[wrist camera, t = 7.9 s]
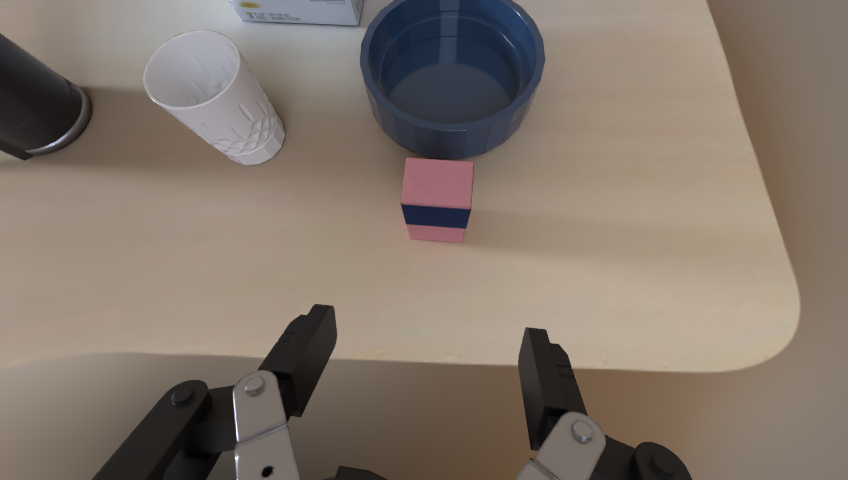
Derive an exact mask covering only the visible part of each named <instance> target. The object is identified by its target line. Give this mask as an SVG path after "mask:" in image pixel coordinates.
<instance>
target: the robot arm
mask: <svg viewBox="0 0 848 480" xmlns="http://www.w3.org/2000/svg"><path fill="white" fill-rule="evenodd" d="M90 111H91V104H90V100H89V97H88V96H87V94H86V93H85V92H84V91H83V90H82V89H80V88H79V87H78V86H76V85H75V84H73V83H72V82H70V81H68V80H67V79H65V78H64V77H63V76H61V75H60V74H58V73H56V72H55V71H53V70H52V69H51V68H49V67H48V66H46V65H45V64H44V63H42V62H41V61H39V60H38V59H36V58H35V57H34V56H32V55H31V54H29V53H28V52H26V51H25V50H24V49H22V48H21V47H19V46H18V45H17V44H15V43H14V42H12V41H11V40H9V39H8V38H7V37H5V36H4V35H2V34H1V33H0V150H1V151H3V152H5V153H7V154H10V155H12V156H14V157H17V158H19V159H21V160H24V161H25V160H27V159H28V158H30V157H32V156H34V155H42V154H47V153H51V152H54V151H56V150H58V149H60V148H62V147H64V146H66V145H67V144H69V143H70V142H71V141H72V140H74V139H75V138H76V137H77V136H78V135H79V134H80V132H81V131H82V130H83V129H84V127H85V125H86V124H87V122H88V119H89V116H90ZM336 339H337V328H336V319H335V310H334V307H333V306H329V305H321V304H315V305H314V306H313V307H312V309H311V310H310V312H309V313H308V315H300V316H299V317H297V318H296V319H294V320H293V321H292V322H290V324H289V325H288V327H287V328H286V330H285V331H284V334H282V335H281V337H280V338H279V341H278V342H277V343H276V344H275V345H274V347H273V348H272V350H271V351H270V353H269V354H268V355H267V357H266V358H265V360H264V361H263V363H262V364H261V366H260V367H259V368H258V370H257V371H255V372H252V373H249V374H248V375H246V376H244V377H243V378H242V379H240V380H239V381H238V382H237V384H236V385H233V386H228V387H221V388H215V389H208V387H207V385H206V383H204V382H203V381H200V380H190V381H186V382H183V383H180V384H178V385H177V386H174V387H173V388H171V389H170V390H169V391H168V392H167V393H165V395H163V397H162V398H161V399H160V400H159V401H158V403H157V404H156V405H155V406H154V407H153V408H152V410H151V411H150V412H149V413H148V414H147V415H146V417H145V418H144V419H143V420H142V421H141V422H140V424H139V425H138V426H137V427H136V428H135V430H134V431H133V432H132V433H131V434H130V435H129V437H128V438H127V439H126V440H125V441H124V442H123V443H122V445H121V446H120V447H119V448H118V449H117V451H116V452H115V453H114V454H113V455H112V456H111V458H110V459H109V460H108V461H107V462H106V463H105V465H104V466H103V467H102V468H101V470H100V471H99V472H98V473H97V474H96V475H95V476H94V478H93V479H92V480H206V479H207V477H208V475H209V473H210V472H211V470H212V468H213V467H214V465H215V463H216V461H217V459H218V458H219V456H220V454H221V453H222V452H223V451H229V450H234V449H235V460H236V470H237V471H236V472H237V480H301V479H300V475H299V471H298V466H297V462H296V458H295V454H294V450H293V445H292V441H291V437H290V432H289V428H288V424H287V422H288V420H289V418H290V416H296V417H301V416H302V414H303V412H304V410H305V407H306V405H307V403H308V401H309V399H310V397H311V395H312V393H313V391H314V389H315V387H316V385H317V383H318V380H319V378H320V376H321V374H322V372H323V370H324V368H325V366H326V364H327V362H328V360H329V358H330V356H331V353H332V351H333V349H334V347H335V344H336ZM518 368H519V375H520V382H521V389H522V394H523V401H524V407H525V414H526V421H527V427H528V434H529V440H530V446H531V450H535V451H538V452H537V453H536V455H535V456H534V458H533V459H532V458H530V459H529V460H528V461H527V462H526V464H525V465H524V467H523V468H522V470H521V471H520V472H519V474H518V475H517V477H516V478H515V480H692V478H691V476H690V474H689V472H688V470H687V468H686V466H685V465H684V464H683V462H682V461H681V460H680V459H679V458H678V457H677V456H676V455H675V454H674V453H673V452H671V451H670V450H669V449H667V448H665V447H664V446H662V445H659V444H656V443H653V442H643V443H641V444H639V445H638V446H637V447H636V449H635V448H633V447H631V446H628V445H626V444H624V443H621V442H619V441H617V440H614V439H612V438H610V437H608V436H607V435H605V434H604V433H603V431H602V429H601V428H600V426H599V425H598V424H597V423H596V422H595V421H594V420H593V419H591V418H590V417H588V415H587V412H586V409H585V406H584V403H583V400H582V397H581V394H580V391H579V388H578V385H577V382H576V379H575V378H574V373H573V370H572V369H571V364H570V361H569V358H568V355H567V354H566V352H565V351H564V350H563V349H562V347H561V346H560V345H559V344H552V343H550V342H549V338H548V334H547V331H546V330H545V329H537V328H528V327H526V329H525V332H524V336H523V340H522V345H521V349H520V353H519V360H518ZM323 480H387V479H385V478H383V477H381V476H379V475H377V474H375V473H373V472H371V471H369V470H362V469H356V468H350V467H343V466H339V468H338V471H337V474H336V476H334V477H329V478H326V479H323Z"/></svg>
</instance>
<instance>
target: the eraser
mask: <svg viewBox="0 0 848 480" xmlns="http://www.w3.org/2000/svg"><path fill="white" fill-rule="evenodd" d="M473 164H474V162H466V161H451V160H436V159H421V158H406V165H405V173H404V181H403V189H402V197H401V206H402V210H403V214H404V218H405V222H406V224H407V227H408V231H409V235H410V239H420V240H432V241H444V242H457V243H462V239H463V235H464V231H465V229H466V226H467V223H468V219H469V215H470V211H471V202H472V185H473V168H474V165H473Z"/></svg>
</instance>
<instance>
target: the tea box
mask: <svg viewBox="0 0 848 480" xmlns="http://www.w3.org/2000/svg"><path fill="white" fill-rule="evenodd" d="M229 1H230V3H231V5H232V6H233V8H234V9H235V11H236V13H237V14H238V16H239V17H240V19H241V20H242V21H263V22H286V23H311V24H335V25H359V20H360V15H361V9H362V4H363V0H229Z"/></svg>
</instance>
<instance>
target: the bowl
mask: <svg viewBox="0 0 848 480" xmlns="http://www.w3.org/2000/svg"><path fill="white" fill-rule="evenodd" d="M544 63H545V54H544V45H543V39H542V37H541V35H540V32H539V30H538V28H537V26H536V24H535V22H534V21H533V19H532V18H531V17H530V16H529V15H528V14H527V13H526V12H525V10H524V9H523V8H522V7H521V6H519V5H518V4H516V3H515V2H513V1H512V0H394V1H393V2H392V3H390V4H389V5H388V6H386V7H385V8H384V9H382V10H381V11H380V12H379V14H378V15H377V16H376V17H375V19H374V20H373V21H372V23H371V24H370V25H369V26H368V29H367V31H366V34H365V36H364V39H363V41H362V44H361V56H360V66H361V70H362V74H363V78H364V82H365V85H366V89H367V92H368V96H369V100H370V103H371V107H372V111H373V114H374V116H375V118H376V120H377V121H378V123H379V124H380V126H381V128H382V129H383V131H384V132H385V133H386V134H388V135H389V136H390V137H391V138H392V139H393V140H394V141H395V142H396V143H398V144H399V145H401V146H403V147H405V148H407V149H409V150H411V151H413V152H415V153H417V154H419V155H424V156H428V157H433V158H437V159H462V158H467V157H471V156H475V155H479V154H483V153H486V152H487V151H489V150H491V149H493V148H495V147H497V146H499V145H500V144H502V143H504V142H505V141H506V140H507V139H508V138H509V137H510V136H511V135H512V134H513V133H514V132H515V131H516V130H517V129H518V128H519V126H520V125H521V123H522V121H523V120H524V118H525V116H526V114H527V113H528V110H529V108H530V105H531V103H532V100H533V98H534V95H535V93H536V90H537V88H538V85H539V83H540V80H541V77H542V72H543V68H544Z"/></svg>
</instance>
